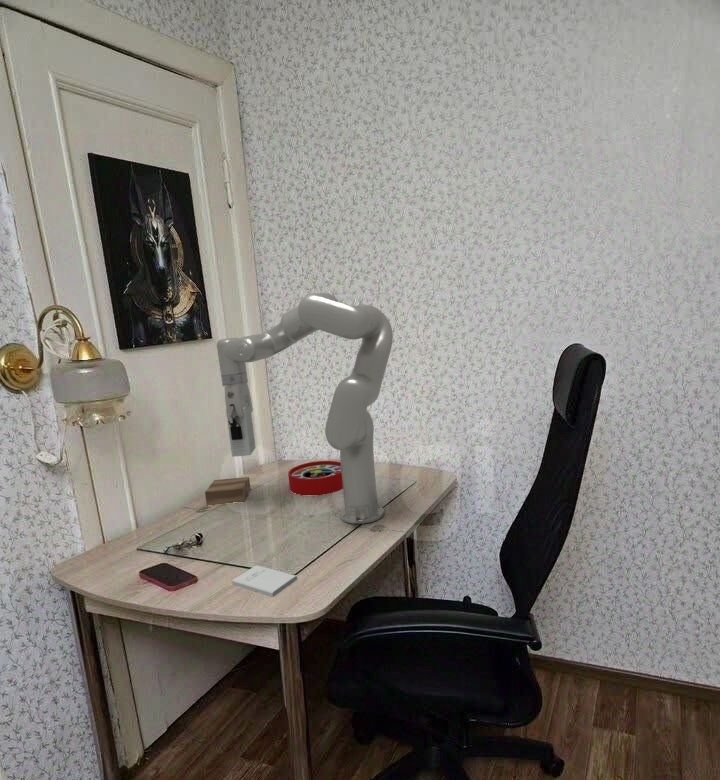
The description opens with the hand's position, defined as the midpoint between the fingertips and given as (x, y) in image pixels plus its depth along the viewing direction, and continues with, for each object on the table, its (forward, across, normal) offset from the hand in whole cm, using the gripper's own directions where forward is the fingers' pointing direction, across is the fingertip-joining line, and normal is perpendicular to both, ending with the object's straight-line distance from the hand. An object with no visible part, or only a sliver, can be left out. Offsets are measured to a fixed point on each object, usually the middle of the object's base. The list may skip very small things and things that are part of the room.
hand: (242, 435), depth 164 cm
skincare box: (+6, 0, 0) cm, 6 cm away
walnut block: (+24, +11, +12) cm, 29 cm away
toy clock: (+24, +20, -17) cm, 36 cm away
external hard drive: (+25, -44, -17) cm, 53 cm away
